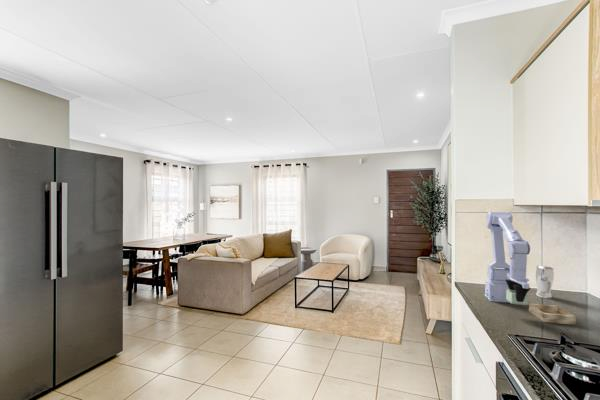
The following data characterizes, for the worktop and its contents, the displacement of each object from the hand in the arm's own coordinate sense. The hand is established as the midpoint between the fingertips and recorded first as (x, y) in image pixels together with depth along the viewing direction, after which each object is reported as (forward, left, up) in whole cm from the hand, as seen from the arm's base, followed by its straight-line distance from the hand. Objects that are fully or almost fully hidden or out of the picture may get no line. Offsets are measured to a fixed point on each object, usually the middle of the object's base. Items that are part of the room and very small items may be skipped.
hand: (516, 299), depth 124 cm
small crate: (0, 0, -1) cm, 1 cm away
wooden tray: (+14, +2, -8) cm, 16 cm away
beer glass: (+25, +29, -8) cm, 39 cm away
